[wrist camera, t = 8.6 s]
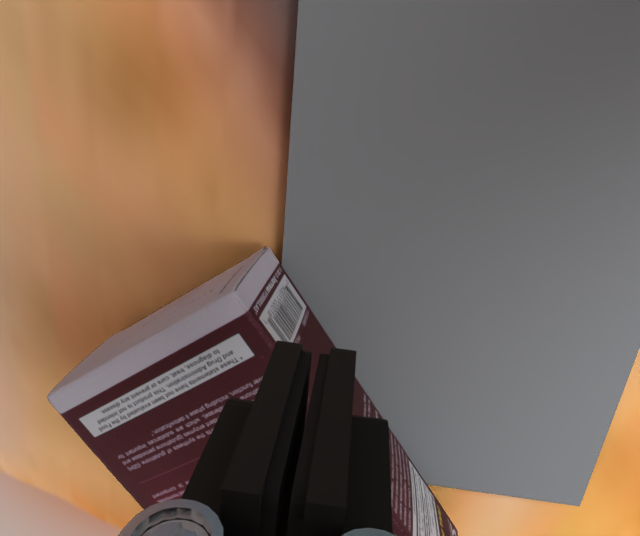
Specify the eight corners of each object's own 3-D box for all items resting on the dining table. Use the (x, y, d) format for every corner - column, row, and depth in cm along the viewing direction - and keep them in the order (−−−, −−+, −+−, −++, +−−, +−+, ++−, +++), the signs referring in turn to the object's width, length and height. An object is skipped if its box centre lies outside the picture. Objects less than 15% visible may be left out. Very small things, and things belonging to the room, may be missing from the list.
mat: (759, -1, 15) (772, -3, 14) (575, 497, 22) (579, 506, 22) (303, -39, 16) (301, -42, 15) (270, 454, 23) (268, 461, 22)
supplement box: (112, 332, 21) (304, 579, 25) (37, 397, 17) (285, 688, 20) (274, 238, 19) (462, 529, 22) (237, 286, 14) (480, 640, 18)
